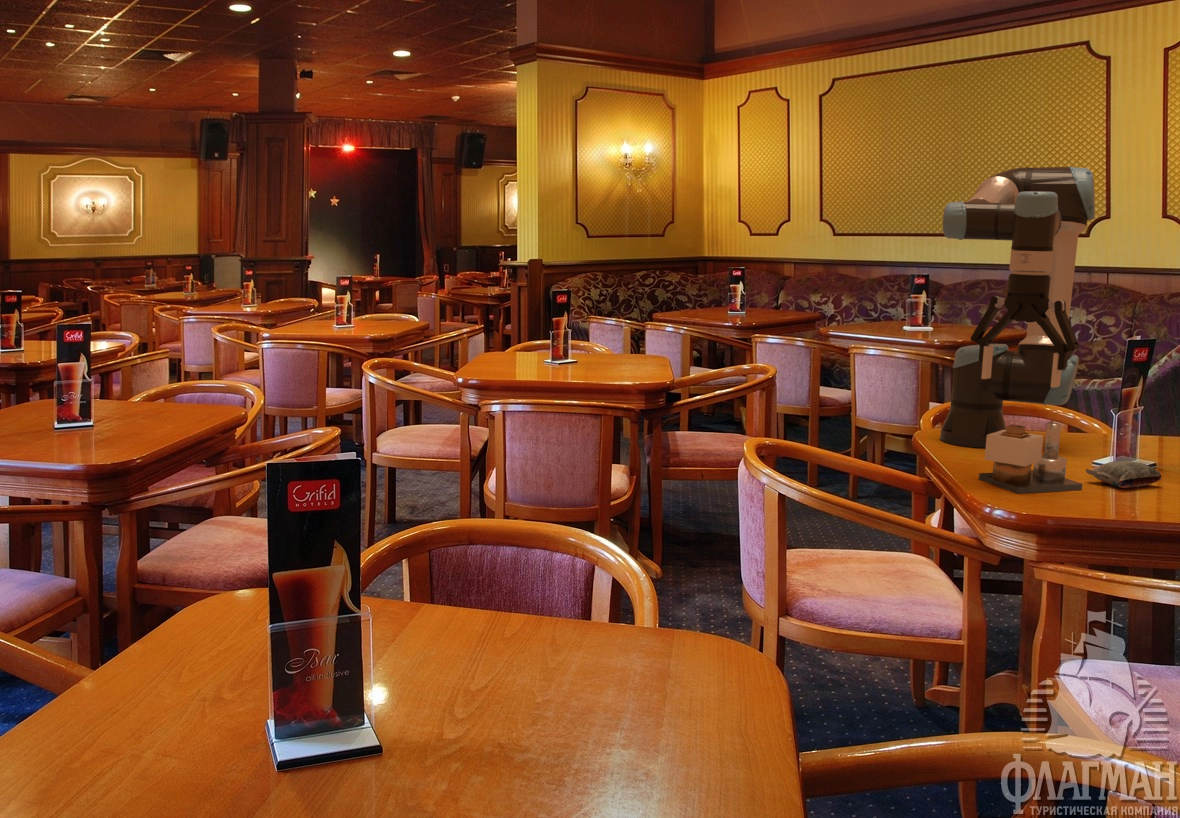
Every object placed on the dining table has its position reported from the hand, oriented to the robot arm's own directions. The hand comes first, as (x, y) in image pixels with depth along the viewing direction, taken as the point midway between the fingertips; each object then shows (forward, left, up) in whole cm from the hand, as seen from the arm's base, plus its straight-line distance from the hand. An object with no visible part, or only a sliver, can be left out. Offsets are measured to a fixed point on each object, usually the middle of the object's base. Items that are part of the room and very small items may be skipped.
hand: (1019, 382), depth 212 cm
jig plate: (-3, +3, -21) cm, 21 cm away
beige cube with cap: (0, 0, -16) cm, 16 cm away
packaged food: (-15, +18, -21) cm, 32 cm away
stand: (-7, +6, -20) cm, 21 cm away
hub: (0, 0, -19) cm, 19 cm away
